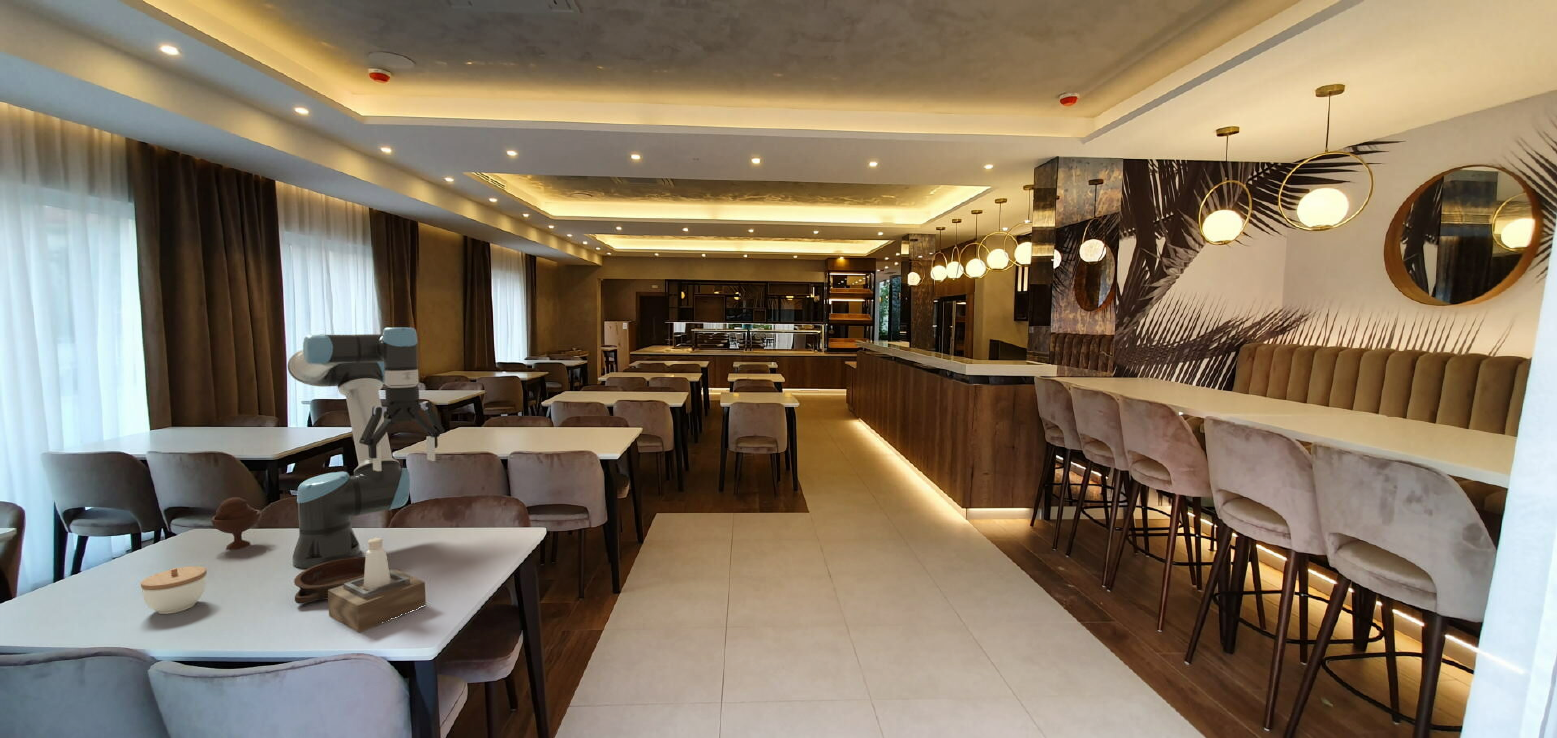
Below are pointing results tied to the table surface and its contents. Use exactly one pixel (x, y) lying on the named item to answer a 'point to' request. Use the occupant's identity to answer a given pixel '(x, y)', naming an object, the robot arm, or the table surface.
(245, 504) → the ice cream bowl
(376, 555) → the pepper shaker
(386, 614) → the display riser
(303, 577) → the dish
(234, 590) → the table surface
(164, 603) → the lidded jar
